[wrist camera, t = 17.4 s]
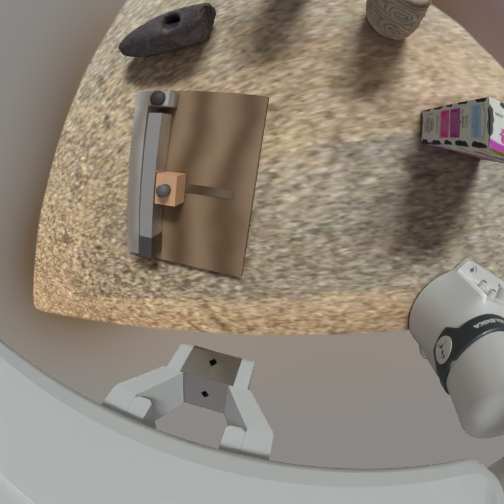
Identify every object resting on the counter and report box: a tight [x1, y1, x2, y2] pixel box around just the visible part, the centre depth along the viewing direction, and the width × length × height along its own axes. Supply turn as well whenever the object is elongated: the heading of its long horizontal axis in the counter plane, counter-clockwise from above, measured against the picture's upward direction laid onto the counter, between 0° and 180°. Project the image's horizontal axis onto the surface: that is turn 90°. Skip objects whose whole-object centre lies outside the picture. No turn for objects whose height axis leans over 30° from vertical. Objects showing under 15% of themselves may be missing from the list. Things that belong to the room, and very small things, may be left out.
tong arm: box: [139, 113, 172, 258], centre depth 37 cm, size 2×20×3 cm, turn 171°
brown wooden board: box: [127, 91, 269, 277], centre depth 36 cm, size 19×25×5 cm
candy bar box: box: [421, 97, 504, 163], centre depth 22 cm, size 11×5×16 cm, turn 88°
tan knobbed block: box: [155, 171, 186, 207], centre depth 36 cm, size 3×4×4 cm
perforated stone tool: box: [118, 3, 216, 57], centre depth 28 cm, size 15×5×7 cm, turn 95°
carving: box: [366, 0, 432, 40], centre depth 20 cm, size 6×8×12 cm
